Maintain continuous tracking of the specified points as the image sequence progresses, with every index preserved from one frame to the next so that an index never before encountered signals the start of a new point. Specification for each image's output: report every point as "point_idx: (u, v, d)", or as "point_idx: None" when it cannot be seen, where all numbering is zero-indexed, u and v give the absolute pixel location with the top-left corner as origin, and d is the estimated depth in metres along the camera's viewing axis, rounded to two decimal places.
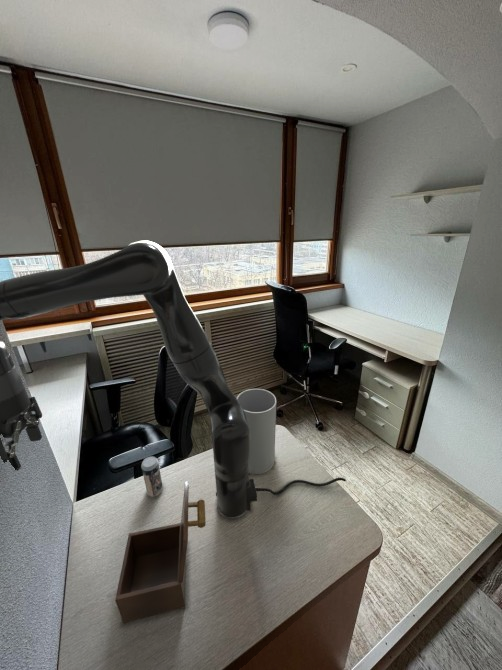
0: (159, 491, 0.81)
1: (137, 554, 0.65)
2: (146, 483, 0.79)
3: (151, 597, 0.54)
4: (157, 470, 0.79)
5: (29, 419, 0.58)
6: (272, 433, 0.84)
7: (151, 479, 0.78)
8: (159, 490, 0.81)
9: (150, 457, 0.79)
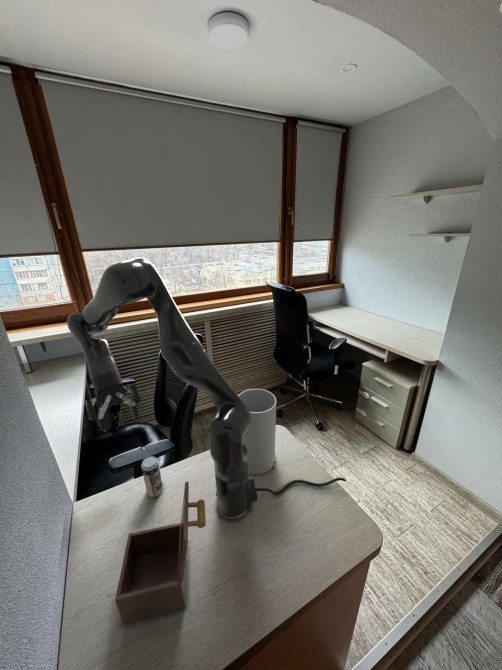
0: (159, 491, 0.81)
1: (137, 554, 0.65)
2: (146, 483, 0.79)
3: (151, 597, 0.54)
4: (157, 471, 0.79)
5: (122, 398, 0.81)
6: (272, 433, 0.84)
7: (151, 479, 0.78)
8: (159, 490, 0.81)
9: (150, 457, 0.79)
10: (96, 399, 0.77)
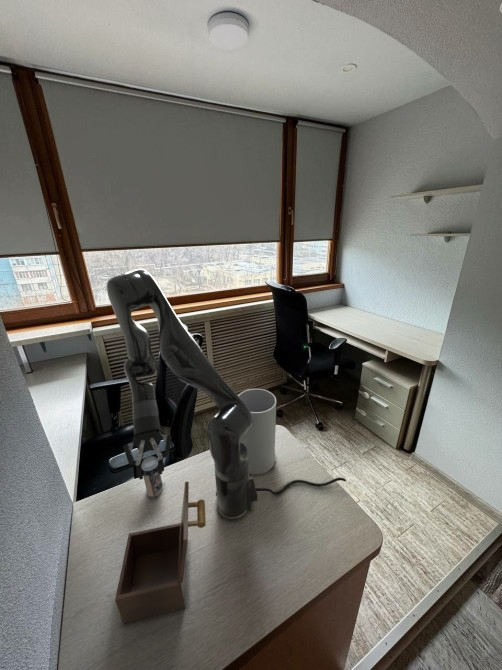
0: (159, 491, 0.81)
1: (137, 554, 0.65)
2: (146, 483, 0.79)
3: (151, 597, 0.54)
4: (157, 471, 0.79)
5: (153, 445, 0.80)
6: (272, 433, 0.84)
7: (151, 479, 0.78)
8: (159, 490, 0.81)
9: (150, 457, 0.79)
10: (132, 442, 0.80)
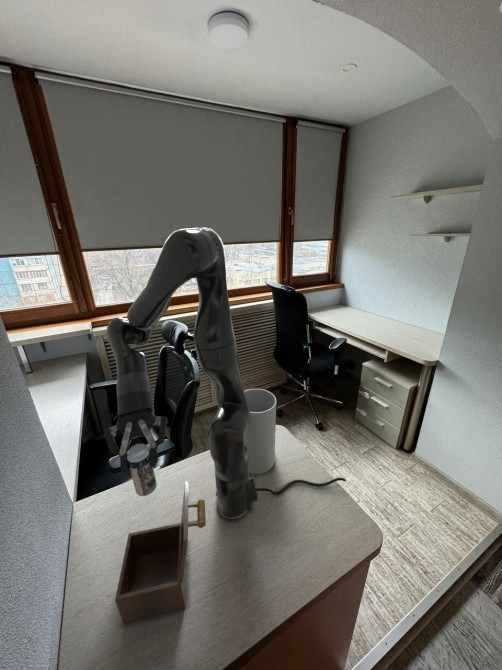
0: (151, 489, 0.62)
1: (137, 554, 0.65)
2: (134, 479, 0.60)
3: (151, 597, 0.54)
4: (149, 462, 0.60)
5: (143, 430, 0.61)
6: (272, 433, 0.84)
7: (141, 473, 0.59)
8: (151, 488, 0.62)
9: (139, 445, 0.60)
10: (116, 425, 0.61)
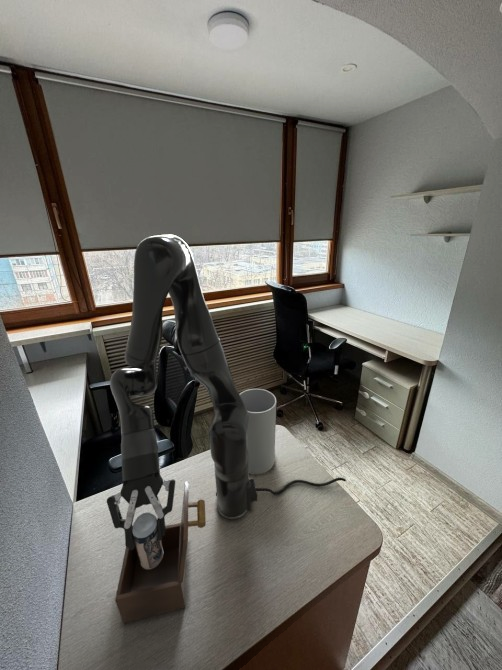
0: (158, 561, 0.57)
1: (137, 554, 0.65)
2: (139, 552, 0.55)
3: (151, 597, 0.54)
4: (156, 534, 0.55)
5: (150, 498, 0.56)
6: (272, 433, 0.84)
7: (147, 548, 0.54)
8: (158, 560, 0.57)
9: (145, 514, 0.56)
10: (120, 493, 0.56)
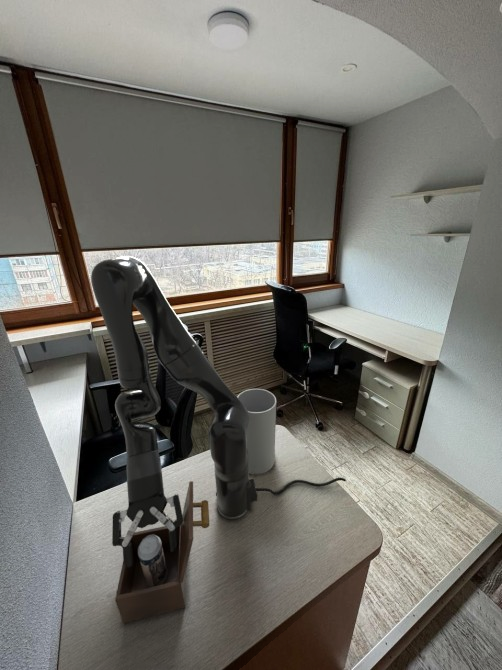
0: (162, 581, 0.60)
1: (137, 554, 0.65)
2: (145, 573, 0.58)
3: (151, 597, 0.54)
4: (160, 556, 0.58)
5: (157, 516, 0.58)
6: (272, 433, 0.84)
7: (152, 569, 0.57)
8: (162, 579, 0.60)
9: (150, 537, 0.58)
10: (126, 513, 0.58)
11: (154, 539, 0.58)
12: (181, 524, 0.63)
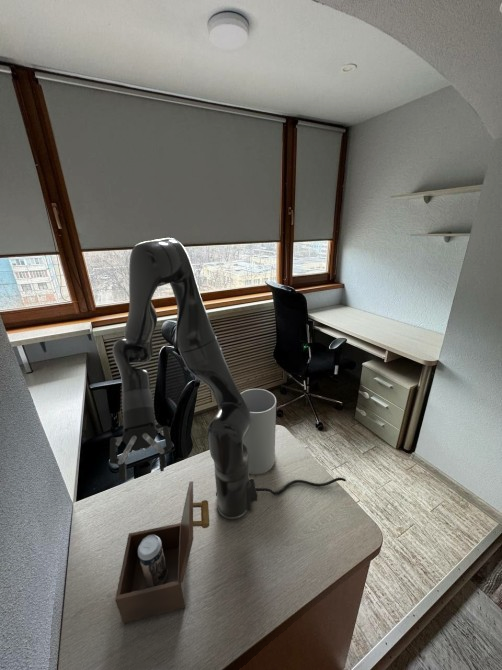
0: (162, 581, 0.60)
1: (137, 554, 0.65)
2: (145, 573, 0.58)
3: (151, 597, 0.54)
4: (160, 556, 0.58)
5: (149, 441, 0.67)
6: (272, 433, 0.84)
7: (152, 569, 0.57)
8: (162, 579, 0.60)
9: (150, 537, 0.58)
10: (122, 438, 0.67)
11: (154, 539, 0.58)
12: (181, 524, 0.63)
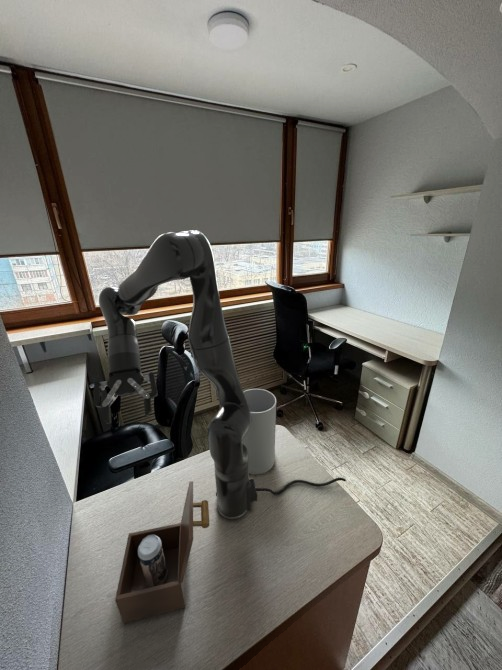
0: (162, 581, 0.60)
1: (137, 554, 0.65)
2: (145, 573, 0.58)
3: (151, 597, 0.54)
4: (160, 556, 0.58)
5: (134, 386, 0.66)
6: (272, 433, 0.84)
7: (152, 569, 0.57)
8: (162, 579, 0.60)
9: (150, 537, 0.58)
10: (106, 383, 0.66)
11: (154, 539, 0.58)
12: (181, 524, 0.63)
